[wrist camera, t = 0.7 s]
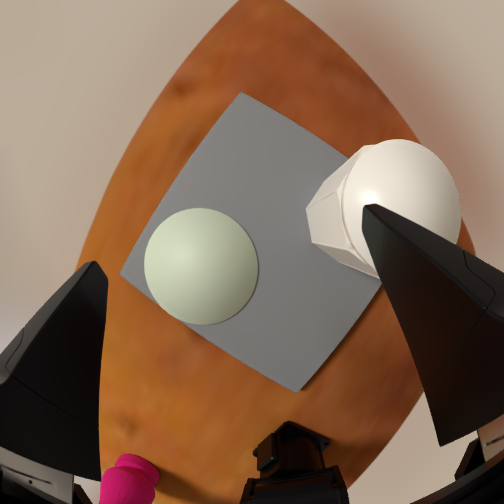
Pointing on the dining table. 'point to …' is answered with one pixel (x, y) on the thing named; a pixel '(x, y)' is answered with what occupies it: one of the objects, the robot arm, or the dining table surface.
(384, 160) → the salt shaker
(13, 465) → the robot arm
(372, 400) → the dining table surface
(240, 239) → the board
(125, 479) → the pepper mill
